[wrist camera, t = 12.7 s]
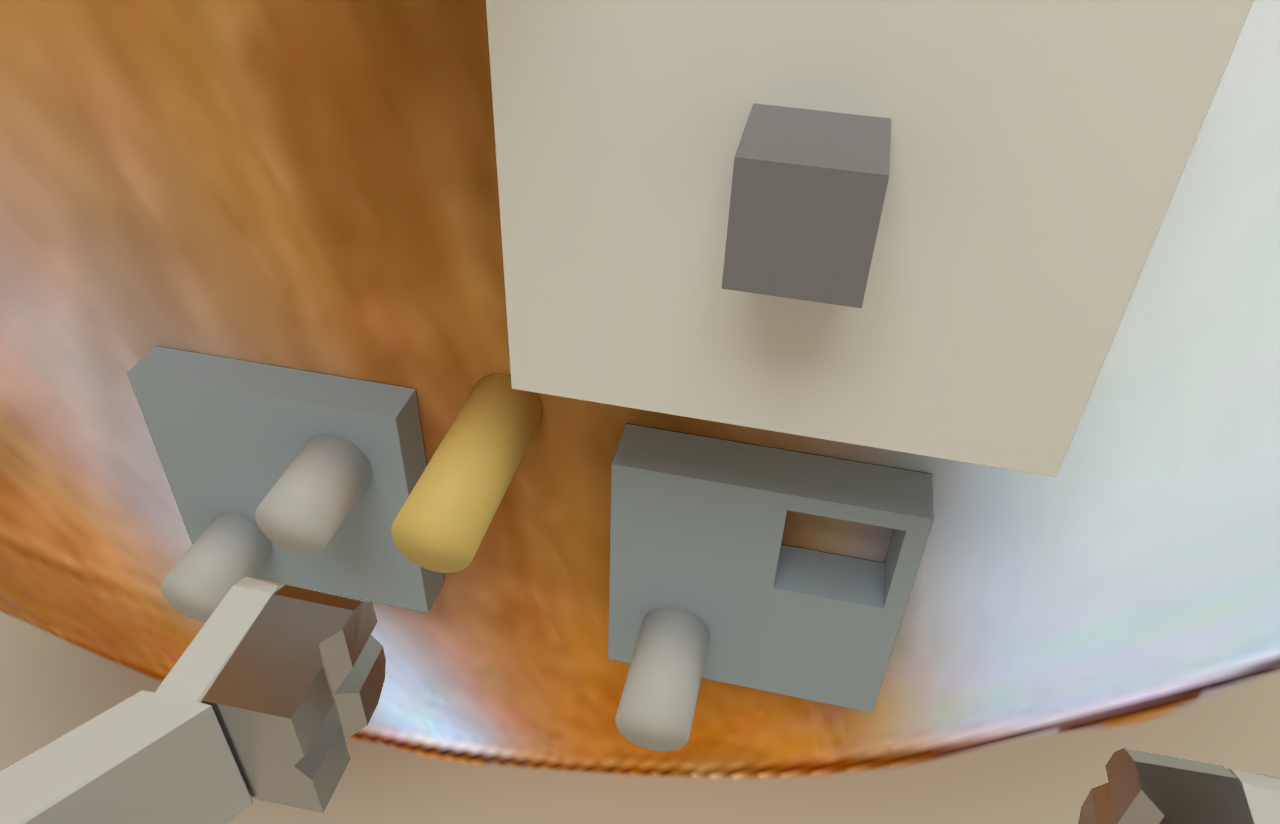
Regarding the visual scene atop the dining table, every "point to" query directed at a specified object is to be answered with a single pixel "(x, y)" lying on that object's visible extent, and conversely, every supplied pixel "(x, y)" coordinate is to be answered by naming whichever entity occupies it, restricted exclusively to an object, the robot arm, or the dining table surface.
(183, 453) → the board
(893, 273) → the cover
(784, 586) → the board
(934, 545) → the dining table surface
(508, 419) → the peg
